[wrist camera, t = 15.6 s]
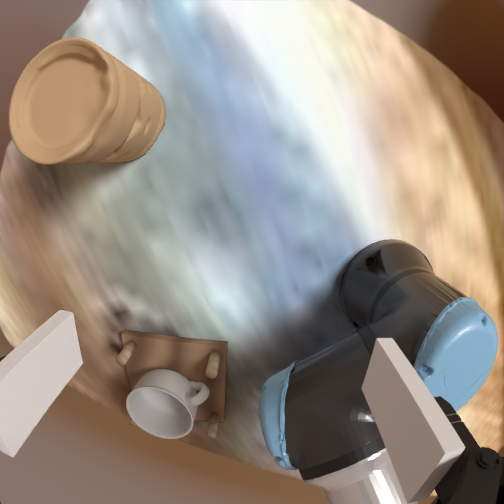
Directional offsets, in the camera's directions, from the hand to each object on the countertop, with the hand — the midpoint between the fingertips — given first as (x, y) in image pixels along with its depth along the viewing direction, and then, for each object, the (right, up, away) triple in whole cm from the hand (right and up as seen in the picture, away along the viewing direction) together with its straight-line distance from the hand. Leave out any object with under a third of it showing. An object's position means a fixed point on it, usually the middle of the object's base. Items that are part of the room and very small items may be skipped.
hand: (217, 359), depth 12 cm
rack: (-11, -17, +38) cm, 43 cm away
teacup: (-11, -17, +36) cm, 42 cm away
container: (-17, +23, +27) cm, 39 cm away
